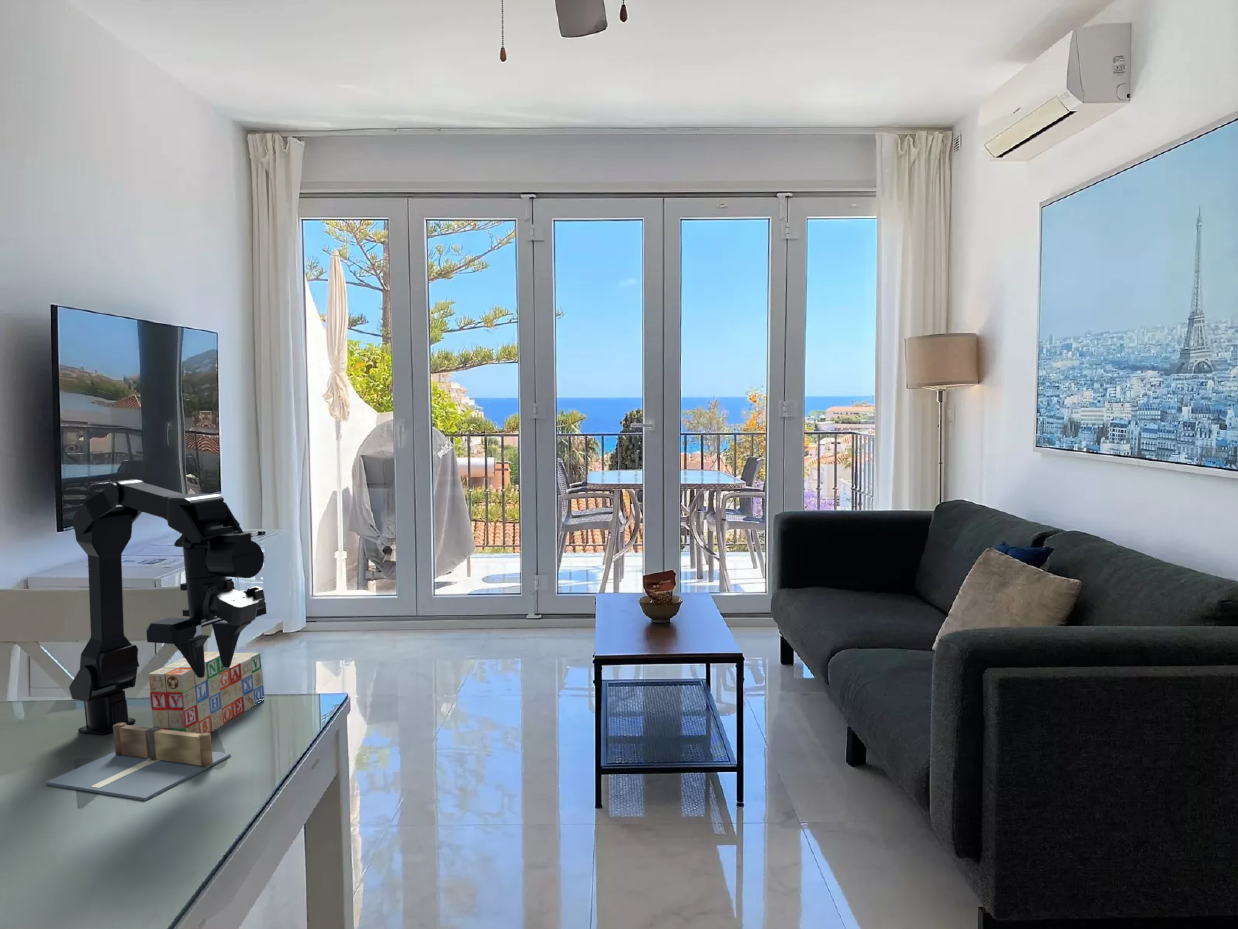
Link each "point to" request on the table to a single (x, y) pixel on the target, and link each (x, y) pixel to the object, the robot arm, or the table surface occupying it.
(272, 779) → the table surface
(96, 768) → the board
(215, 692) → the stack of blocks
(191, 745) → the folding fence panel
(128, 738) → the fixed fence section
